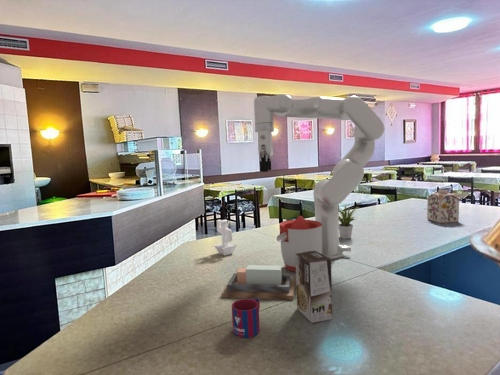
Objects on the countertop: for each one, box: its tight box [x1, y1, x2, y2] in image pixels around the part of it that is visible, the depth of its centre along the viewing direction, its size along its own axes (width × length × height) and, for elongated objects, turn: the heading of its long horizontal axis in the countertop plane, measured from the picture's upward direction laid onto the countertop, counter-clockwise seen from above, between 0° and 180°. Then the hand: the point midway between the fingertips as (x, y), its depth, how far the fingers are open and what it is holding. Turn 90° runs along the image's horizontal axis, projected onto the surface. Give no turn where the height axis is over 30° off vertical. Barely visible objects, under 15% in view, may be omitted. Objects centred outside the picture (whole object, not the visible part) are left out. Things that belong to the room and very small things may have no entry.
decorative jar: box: [426, 189, 460, 224], centre depth 193 cm, size 12×12×18 cm
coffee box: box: [295, 251, 333, 324], centre depth 90 cm, size 9×6×16 cm
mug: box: [231, 298, 261, 339], centre depth 85 cm, size 7×10×7 cm
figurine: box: [213, 219, 237, 256], centre depth 148 cm, size 7×9×15 cm
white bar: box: [236, 264, 283, 285], centre depth 109 cm, size 14×4×6 cm, turn 80°
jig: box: [221, 272, 296, 301], centre depth 109 cm, size 22×14×3 cm, turn 80°
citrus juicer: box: [276, 215, 322, 273], centre depth 125 cm, size 16×17×20 cm
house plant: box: [338, 205, 360, 239], centre depth 167 cm, size 14×14×16 cm
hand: (265, 170), depth 137 cm, fingers open, 9 cm apart
